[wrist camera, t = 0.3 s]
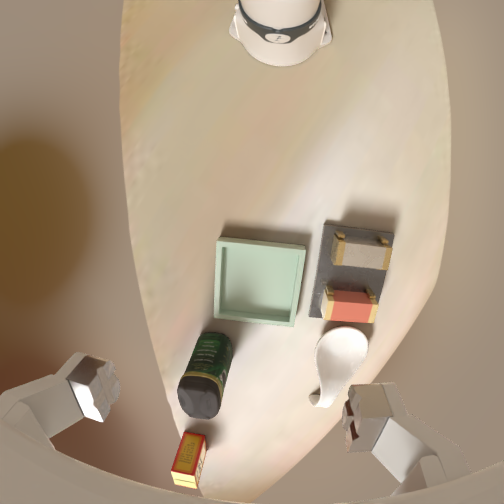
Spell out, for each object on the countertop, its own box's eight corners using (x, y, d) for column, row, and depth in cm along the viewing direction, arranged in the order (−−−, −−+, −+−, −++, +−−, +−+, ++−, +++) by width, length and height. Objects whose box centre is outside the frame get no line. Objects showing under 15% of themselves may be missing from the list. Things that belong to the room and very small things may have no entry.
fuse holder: (323, 223, 54) (328, 232, 48) (392, 233, 53) (404, 241, 48) (308, 314, 60) (311, 330, 54) (371, 319, 59) (379, 334, 53)
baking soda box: (184, 431, 77) (170, 471, 61) (205, 435, 76) (193, 476, 61) (186, 447, 80) (175, 485, 64) (206, 451, 79) (196, 490, 64)
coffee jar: (196, 329, 64) (170, 385, 46) (231, 331, 63) (215, 390, 45) (200, 363, 67) (179, 420, 49) (233, 365, 66) (220, 425, 48)
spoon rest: (320, 315, 60) (324, 334, 53) (371, 322, 60) (380, 340, 53) (295, 394, 68) (296, 415, 61) (340, 398, 67) (343, 418, 61)
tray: (219, 236, 57) (216, 240, 54) (304, 245, 56) (305, 250, 53) (216, 310, 62) (213, 317, 59) (293, 319, 61) (293, 327, 58)
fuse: (324, 289, 57) (327, 300, 52) (371, 293, 56) (378, 304, 52) (320, 307, 58) (323, 319, 53) (367, 310, 58) (373, 323, 53)
